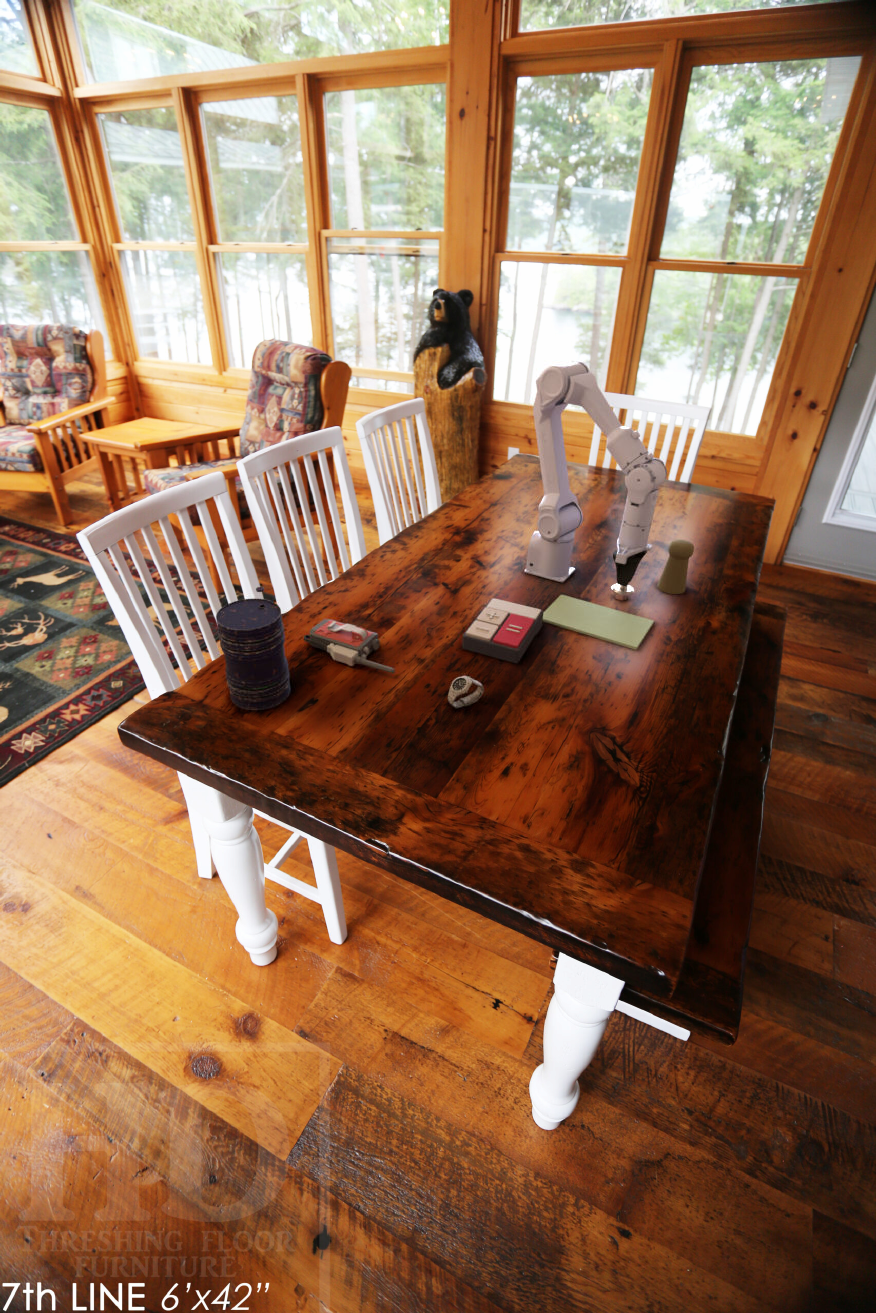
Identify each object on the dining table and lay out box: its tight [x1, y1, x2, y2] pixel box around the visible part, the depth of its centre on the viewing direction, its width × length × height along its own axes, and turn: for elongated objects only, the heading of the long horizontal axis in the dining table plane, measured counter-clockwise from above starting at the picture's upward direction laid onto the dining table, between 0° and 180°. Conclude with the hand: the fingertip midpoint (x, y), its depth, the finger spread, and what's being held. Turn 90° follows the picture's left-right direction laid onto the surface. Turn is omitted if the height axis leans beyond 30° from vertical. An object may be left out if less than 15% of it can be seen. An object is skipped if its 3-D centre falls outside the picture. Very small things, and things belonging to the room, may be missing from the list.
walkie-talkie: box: [302, 618, 396, 674], centre depth 116 cm, size 9×4×20 cm
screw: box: [610, 582, 635, 601], centre depth 135 cm, size 13×5×5 cm
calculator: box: [461, 598, 545, 664], centre depth 122 cm, size 11×4×15 cm
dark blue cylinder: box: [215, 586, 291, 711], centre depth 102 cm, size 10×10×18 cm
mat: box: [542, 594, 655, 651], centre depth 129 cm, size 20×12×1 cm, turn 59°
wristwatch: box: [447, 675, 485, 709], centre depth 104 cm, size 4×6×5 cm, turn 119°
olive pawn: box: [656, 538, 695, 595], centre depth 140 cm, size 6×6×11 cm
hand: (624, 582), depth 136 cm, fingers closed on screw, 2 cm apart
